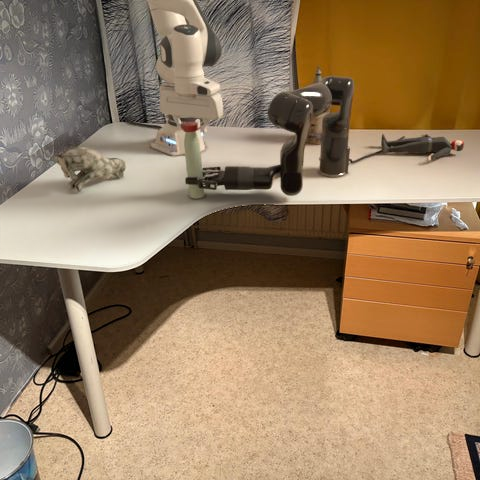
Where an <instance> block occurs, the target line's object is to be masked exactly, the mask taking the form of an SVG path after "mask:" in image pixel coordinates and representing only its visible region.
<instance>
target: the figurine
mask: <svg viewBox="0 0 480 480" xmlns="http://www.w3.org/2000/svg"><path fill="white" fill-rule="evenodd" d="M54 160H55V163H57V165H59V166H60V170H61V171H62V173H63V176H64V177H65V178H67V179H68V178H69V179H70V180H71V181H70V182H69V183H68V186H69V188H70V189H71V190H76V192H77V193H81V192H82V187H84V185H85V184H87V183H88V182H90V181H92V180H94V179H96V180H108V179H109V178H111V176H113V177H118V178H124V174H125V173H124V172H125V171H126V169H127V166H126V161H125V160H124V159H121V158H118V157H111V158H110V157H106V156H104V155H103V154H102V153H100V152H98V151H97V150H95V149H93V148H89V147H83V146H72V147H69V148H67V149H65V150H64V151H63V152H58V153H57V154H56V155H55V156H54ZM76 172H78V173H76Z"/></svg>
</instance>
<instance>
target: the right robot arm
mask: <svg viewBox="0 0 480 480" xmlns="http://www.w3.org/2000/svg"><path fill="white" fill-rule="evenodd" d="M310 84H311V85H310ZM310 84H308V85H306V86H304V87H301V88H297V89H294V90H285V91H280V92H279V93H277V94H276V95H275V96H274V97H272V99H271V101H270V102H269V105H268V106H267V113H266V114H267V119H268V121H269V122H270V123H271V124H272V125H273V126H275V127H277V128H280V129H283V130H285V131H287V132H290V133H294V135H293V136H292V137H290V138H289V139H287V140H286V141H285V142H284V143H283V144H282V146H281V148H280V152H279V164H276V165H272V166H268V167H259V166H258V167H256V166H255V167H254V166H241V165H240V166H237V165H236V166H234V165H232V166H231V165H226V166H225V168H224V170H222V169H221V166H210V167H209V166H208V167H202V174H203V177H198V178H197V177H187V176H186V177H185V178H184V179H185V180H184V181H185V185H198V186H199V188H202V189H204V190H210V191H211V190H212V191H217V189H218V187H220V186H224V190H226V191H252V190H255V191H256V190H257V191H258V190H260V191H261V190H263V191H267V190H271V189H272V187H273V184H274V181H275V180H278V179H280V184H279V185H280V186H279V187H280V190H281V192H282V193H283V194H284V195H286V196H289V197H295V196H297V195H299V194H300V193H301V192H302V191H303V188H304V186H303V185H304V177H303V176H304V173H303V172H304V171H303V170H304V169H303V168H304V159H305V148H306V145H307V143H308V142H307V138H308V134H309V130H310V126H311V122H312V117H316V116H319V115H320V114H322V113H324V112H325V111H327V110H328V109H329V107H330V105H332V106H336V107H338V106H339V110H337V111H335V112H330V114H327V115H325V116H324V117H323V120H322V135H321V138H320V139H321V144H320V153H319V157H318V161H319V165H318V168H319V169H318V173H319V174H320V175H322V176H324V177H329V178H339V177H343V176H345V175H346V174H349V166H350V164H356V163H358V162H360V161H362V160H364V159H367V158H370V157H372V156H373V157H374V156H376V155H378V154H382V149H380V150H378V151H375V152H373V153H369V154H366V155H364V156H361V157H359V158H357V159H355V160H353V159H352V158H350V154H351V147H350V146H349V138H350V137H349V134H350V127H351V126H350V125H351V117H352V110H353V109H352V107H353V102H354V94H355V81H354V79H353V78H352V77H347V76H337V75H327V76H325V77H323V78H322V80H320V81H319V82H318V83H315V84H313V83H310ZM403 139H406V136H405V135H403V136H401V137H400V138H398V139H397V140H403ZM388 147H389V146H388ZM390 147H392V146H390Z"/></svg>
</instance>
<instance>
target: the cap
mask: <svg viewBox="0 0 480 480" xmlns="http://www.w3.org/2000/svg"><path fill="white" fill-rule="evenodd" d="M197 130H198V124H197V122H185V123H183V131H184V132H195V131H197Z"/></svg>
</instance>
